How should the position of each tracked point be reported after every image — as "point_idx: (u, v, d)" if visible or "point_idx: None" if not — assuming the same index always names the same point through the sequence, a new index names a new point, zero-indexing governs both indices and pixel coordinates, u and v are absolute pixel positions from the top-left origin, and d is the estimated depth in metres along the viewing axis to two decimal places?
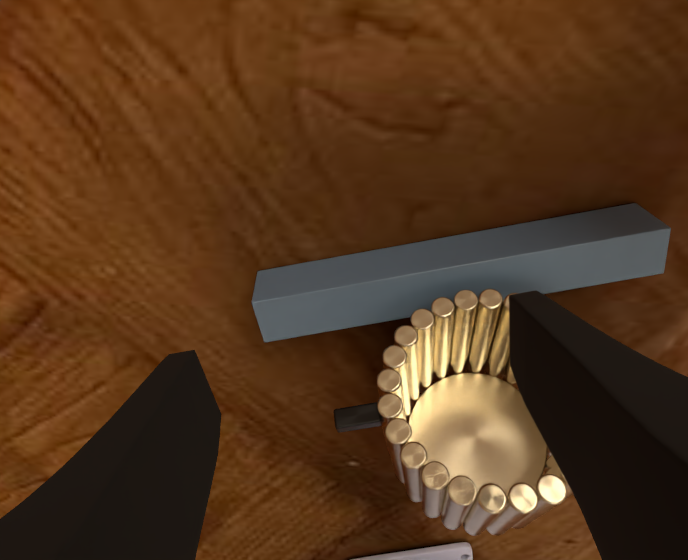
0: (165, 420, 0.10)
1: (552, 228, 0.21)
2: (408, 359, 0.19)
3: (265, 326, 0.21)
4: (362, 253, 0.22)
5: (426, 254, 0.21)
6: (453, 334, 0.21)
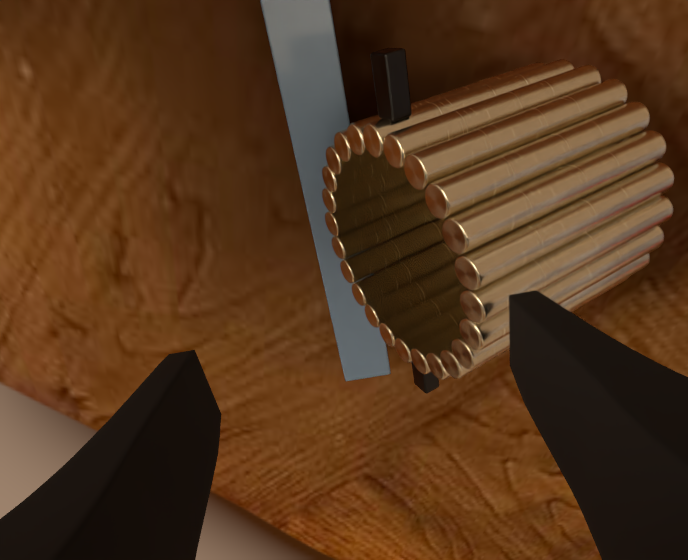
0: (165, 420, 0.10)
1: None
2: (393, 286, 0.18)
3: (371, 372, 0.22)
4: None
5: None
6: (394, 211, 0.18)
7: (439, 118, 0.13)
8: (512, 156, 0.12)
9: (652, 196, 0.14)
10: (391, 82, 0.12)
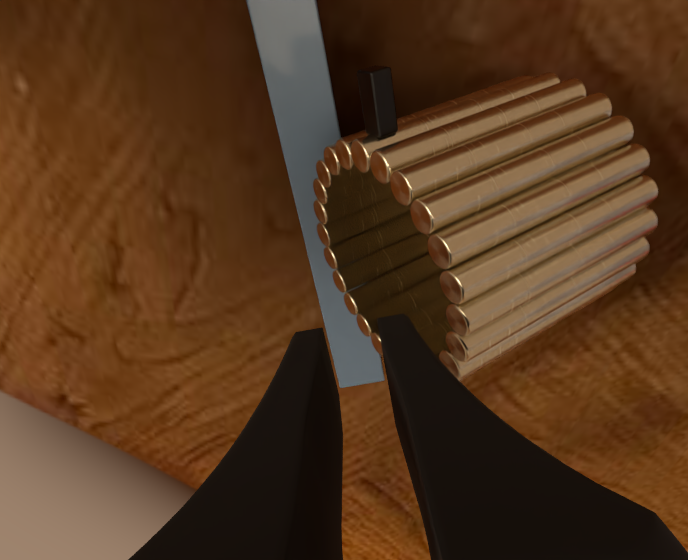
0: (318, 394, 0.10)
1: None
2: (385, 296, 0.18)
3: (366, 379, 0.23)
4: None
5: None
6: (386, 221, 0.19)
7: (425, 134, 0.13)
8: (496, 171, 0.12)
9: (636, 209, 0.14)
10: (377, 99, 0.13)
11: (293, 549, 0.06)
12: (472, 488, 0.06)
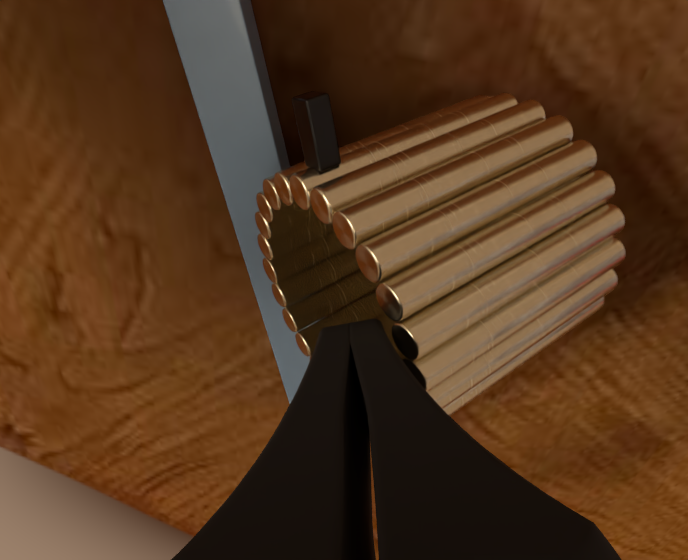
0: (350, 389, 0.09)
1: None
2: None
3: None
4: None
5: None
6: (339, 252, 0.17)
7: (370, 167, 0.12)
8: (450, 208, 0.11)
9: (603, 240, 0.13)
10: (315, 130, 0.11)
11: (345, 541, 0.06)
12: (420, 497, 0.06)
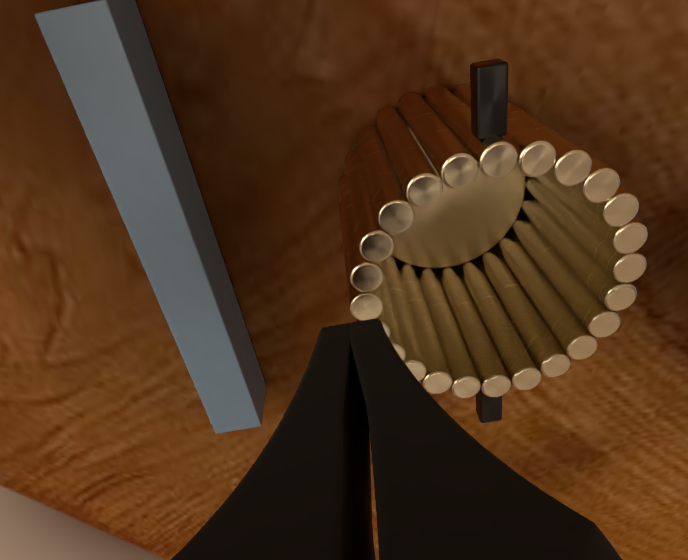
0: (350, 389, 0.09)
1: None
2: (419, 345, 0.16)
3: (241, 425, 0.22)
4: None
5: None
6: None
7: (521, 124, 0.13)
8: None
9: None
10: (504, 93, 0.12)
11: (345, 541, 0.06)
12: (420, 496, 0.06)
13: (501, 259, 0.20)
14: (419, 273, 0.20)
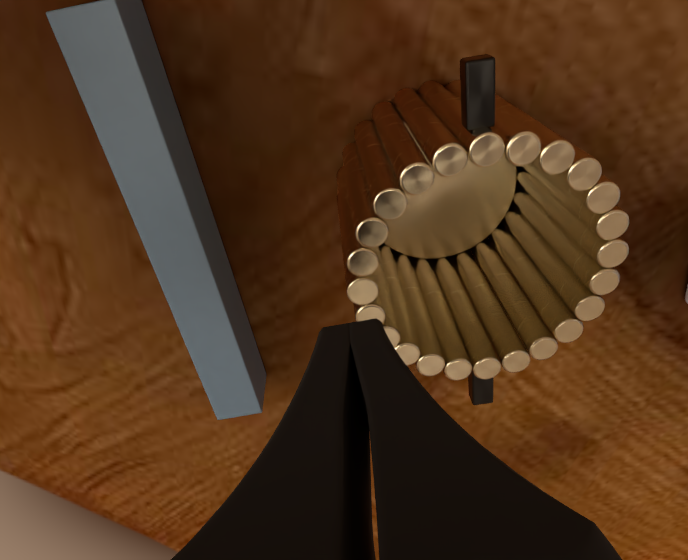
0: (350, 389, 0.09)
1: None
2: (414, 329, 0.16)
3: (242, 411, 0.22)
4: None
5: None
6: None
7: (509, 117, 0.13)
8: (555, 133, 0.14)
9: None
10: (491, 87, 0.12)
11: (345, 541, 0.06)
12: (420, 496, 0.06)
13: (493, 249, 0.20)
14: (414, 263, 0.21)
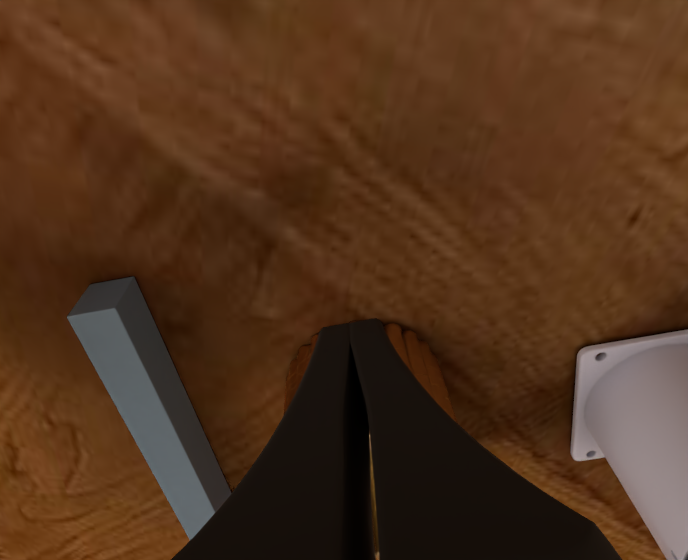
0: (350, 389, 0.09)
1: None
2: None
3: None
4: None
5: None
6: None
7: None
8: None
9: None
10: None
11: (345, 541, 0.06)
12: (420, 496, 0.06)
13: None
14: None
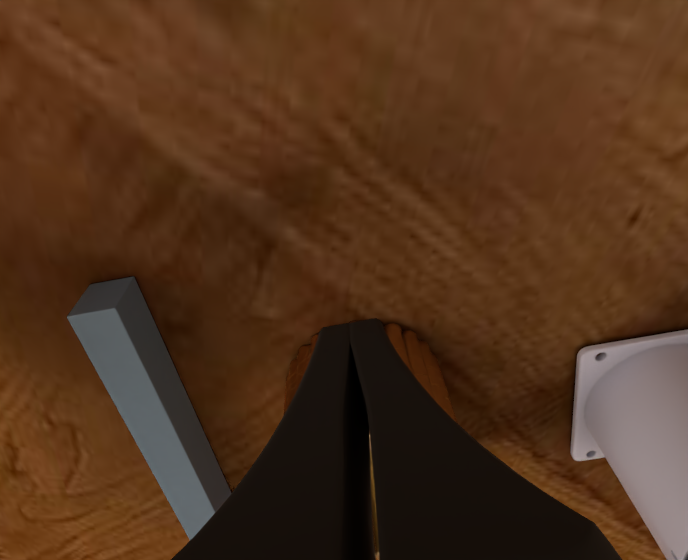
0: (350, 389, 0.09)
1: None
2: None
3: None
4: None
5: None
6: None
7: None
8: None
9: None
10: None
11: (345, 541, 0.06)
12: (420, 496, 0.06)
13: None
14: None
